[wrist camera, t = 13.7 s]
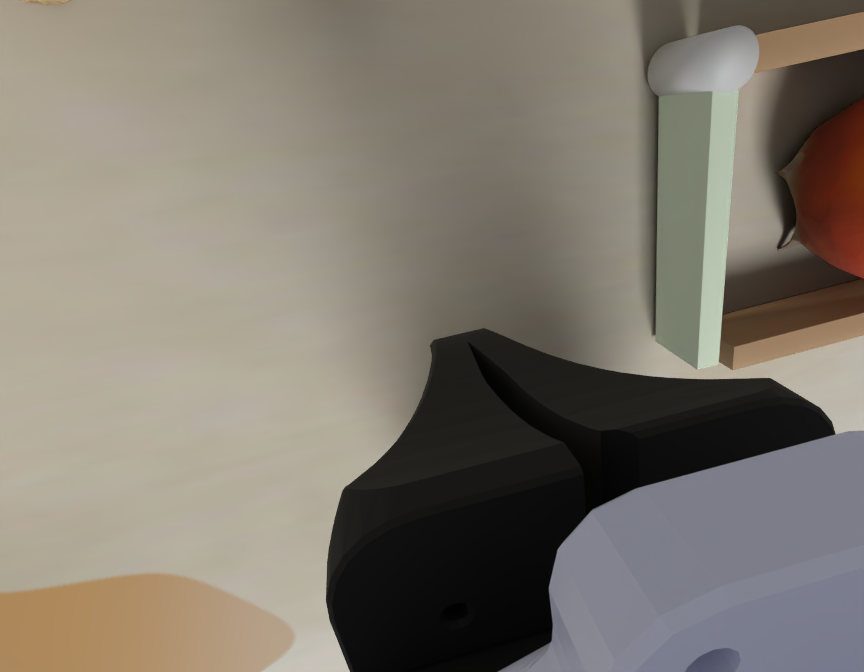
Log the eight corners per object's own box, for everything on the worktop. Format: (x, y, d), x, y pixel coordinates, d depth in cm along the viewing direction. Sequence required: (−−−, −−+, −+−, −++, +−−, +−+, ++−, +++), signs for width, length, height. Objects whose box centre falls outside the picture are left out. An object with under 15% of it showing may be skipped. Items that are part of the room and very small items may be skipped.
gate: (647, 46, 19) (706, 30, 16) (695, 37, 19) (761, 20, 16) (646, 343, 25) (689, 374, 22) (683, 334, 25) (732, 363, 22)
